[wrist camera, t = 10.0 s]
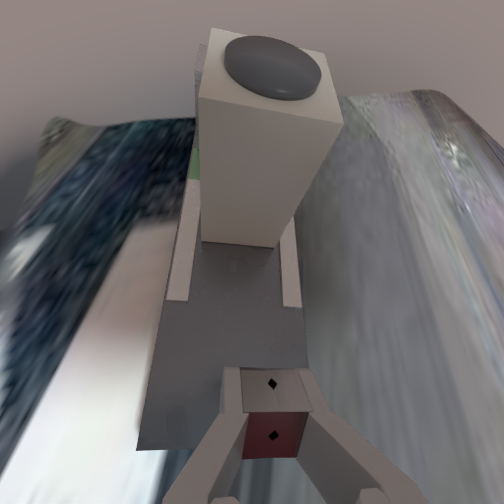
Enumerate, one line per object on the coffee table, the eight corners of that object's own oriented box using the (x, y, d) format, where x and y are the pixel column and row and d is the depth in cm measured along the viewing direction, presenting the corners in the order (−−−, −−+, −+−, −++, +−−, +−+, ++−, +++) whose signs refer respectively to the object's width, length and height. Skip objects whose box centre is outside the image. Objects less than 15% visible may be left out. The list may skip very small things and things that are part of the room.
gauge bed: (309, 439, 15) (404, 498, 8) (140, 445, 13) (67, 527, 6) (284, 147, 27) (312, 69, 20) (196, 133, 26) (193, 43, 19)
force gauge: (275, 247, 19) (349, 114, 9) (201, 240, 18) (197, 85, 8) (271, 169, 24) (320, 20, 14) (211, 160, 23) (216, -7, 13)
